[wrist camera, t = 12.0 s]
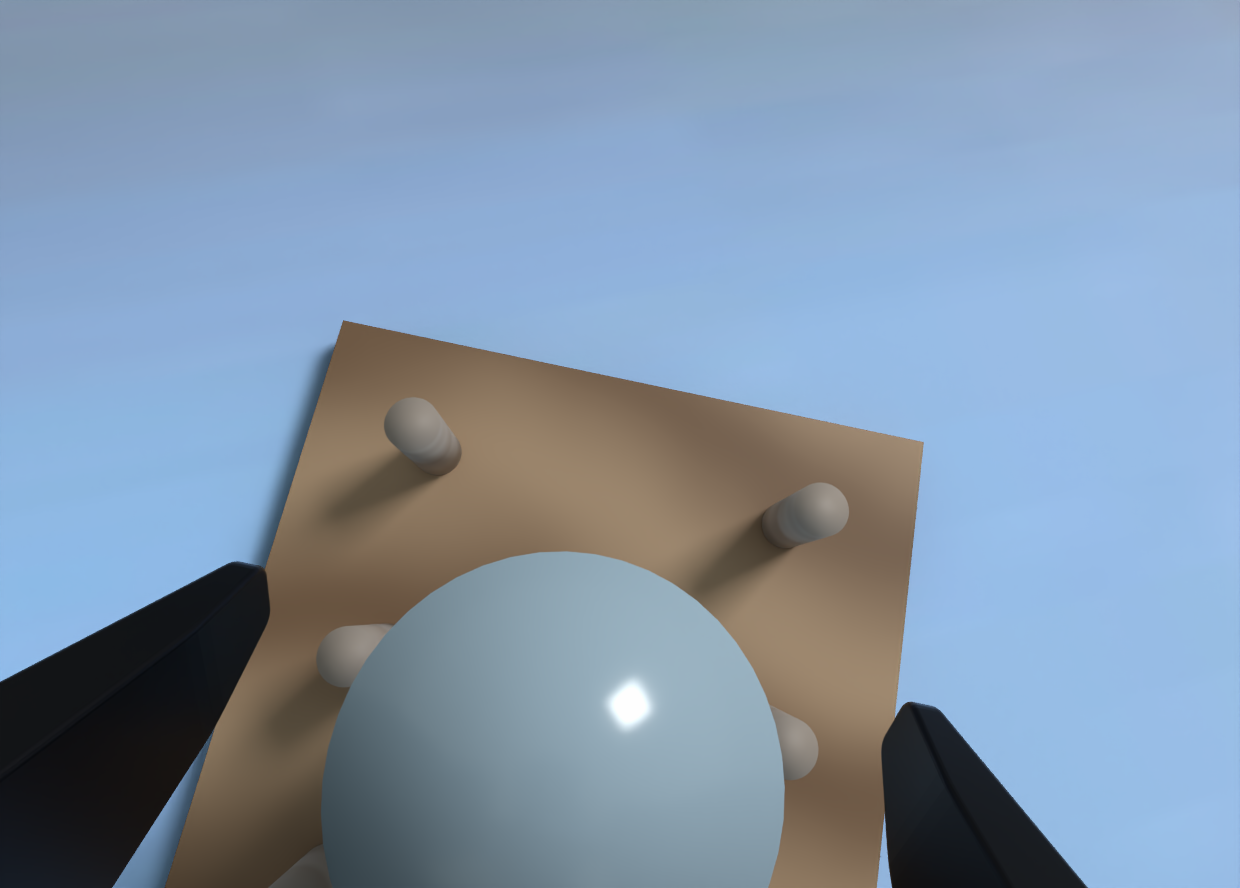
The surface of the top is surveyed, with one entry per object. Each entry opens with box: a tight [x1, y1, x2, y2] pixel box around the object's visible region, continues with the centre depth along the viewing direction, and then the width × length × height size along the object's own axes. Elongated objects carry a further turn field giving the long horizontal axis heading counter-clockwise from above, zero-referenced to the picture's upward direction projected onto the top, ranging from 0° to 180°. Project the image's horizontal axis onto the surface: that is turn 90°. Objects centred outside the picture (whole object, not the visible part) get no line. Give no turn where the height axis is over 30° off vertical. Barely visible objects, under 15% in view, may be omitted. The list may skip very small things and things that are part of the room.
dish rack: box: [165, 321, 924, 888], centre depth 17 cm, size 16×16×4 cm
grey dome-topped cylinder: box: [321, 551, 785, 888], centre depth 13 cm, size 5×5×10 cm
